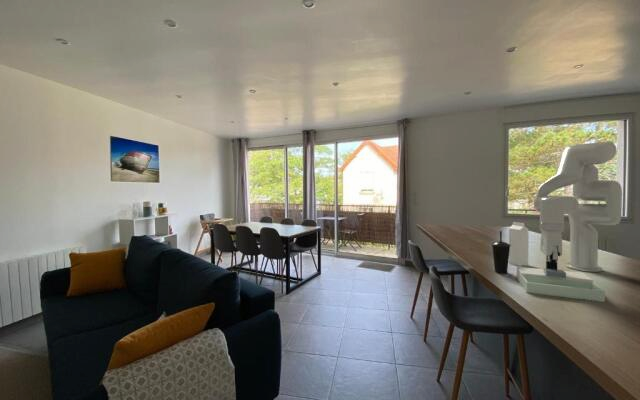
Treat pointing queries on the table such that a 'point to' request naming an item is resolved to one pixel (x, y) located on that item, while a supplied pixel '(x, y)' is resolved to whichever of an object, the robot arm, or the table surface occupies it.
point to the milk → (518, 244)
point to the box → (563, 288)
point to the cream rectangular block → (539, 273)
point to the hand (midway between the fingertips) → (551, 271)
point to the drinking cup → (501, 255)
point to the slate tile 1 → (554, 273)
